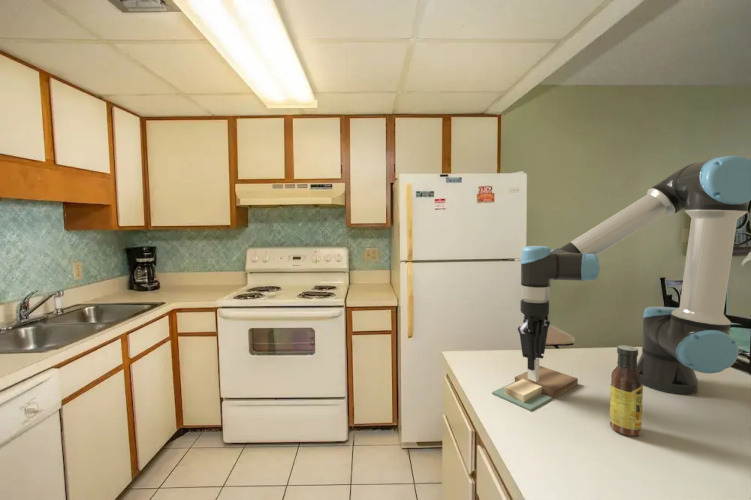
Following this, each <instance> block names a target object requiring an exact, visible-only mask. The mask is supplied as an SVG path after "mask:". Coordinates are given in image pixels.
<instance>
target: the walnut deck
mask: <svg viewBox="0 0 751 500" xmlns="http://www.w3.org/2000/svg"><path fill="white" fill-rule="evenodd" d="M527 375H528V370H527V371H525V372H523V373H521V374H519V375H516V376H514V383H515V382H518V381H520V380H522V379H524V380H527V381H530V382H532V383H535V384H537V385H540V386H542V394H544V395H547V396H549V397H552V400H553V399H555V398H557V397H558V396H561V395H562V394H564V393H566V392H568V391H569V390H571V389H573V388H575V387H576V386H578V383H579V379H578V378H577V377H575V376H571V375H569V374H565V373H562V372H560V371H557V370H553V369H551V368H548V367H545V366H542V365H539V381H537V382H535V381H533V380H530V379H527Z"/></svg>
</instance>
